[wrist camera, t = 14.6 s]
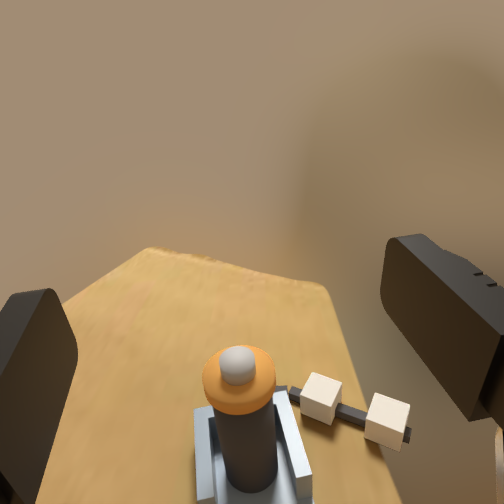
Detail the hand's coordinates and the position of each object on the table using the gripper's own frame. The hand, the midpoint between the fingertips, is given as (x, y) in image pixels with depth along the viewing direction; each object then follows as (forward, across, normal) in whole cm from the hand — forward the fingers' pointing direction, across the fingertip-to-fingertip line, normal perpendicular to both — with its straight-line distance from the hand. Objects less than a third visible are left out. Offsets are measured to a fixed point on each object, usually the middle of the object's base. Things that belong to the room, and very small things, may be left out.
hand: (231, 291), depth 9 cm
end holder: (+10, 0, +26) cm, 28 cm away
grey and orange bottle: (+10, 0, +26) cm, 28 cm away
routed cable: (+13, -7, +26) cm, 30 cm away
